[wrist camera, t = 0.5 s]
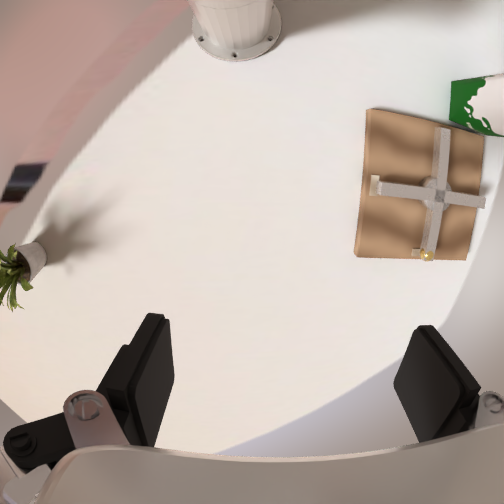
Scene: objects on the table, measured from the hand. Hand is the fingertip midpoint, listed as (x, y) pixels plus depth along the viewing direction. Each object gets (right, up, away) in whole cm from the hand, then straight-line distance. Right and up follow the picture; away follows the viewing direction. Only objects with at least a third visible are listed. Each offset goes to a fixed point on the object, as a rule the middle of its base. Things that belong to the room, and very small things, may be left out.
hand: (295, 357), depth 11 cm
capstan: (+26, +13, +30) cm, 41 cm away
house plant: (-41, +4, +37) cm, 55 cm away
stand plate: (+26, +14, +32) cm, 43 cm away
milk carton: (+34, +28, +27) cm, 51 cm away
